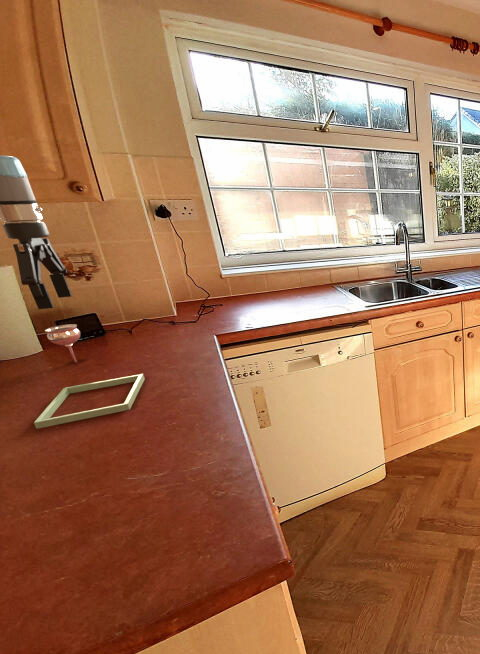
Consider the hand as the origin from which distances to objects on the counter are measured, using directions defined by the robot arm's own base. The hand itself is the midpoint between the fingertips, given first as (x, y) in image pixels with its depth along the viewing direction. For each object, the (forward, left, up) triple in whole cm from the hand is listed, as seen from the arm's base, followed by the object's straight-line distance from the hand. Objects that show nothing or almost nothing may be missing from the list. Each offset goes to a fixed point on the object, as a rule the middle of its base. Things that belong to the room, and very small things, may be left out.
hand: (56, 302), depth 116 cm
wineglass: (-3, +4, -20) cm, 21 cm away
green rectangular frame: (+9, -32, -20) cm, 39 cm away
